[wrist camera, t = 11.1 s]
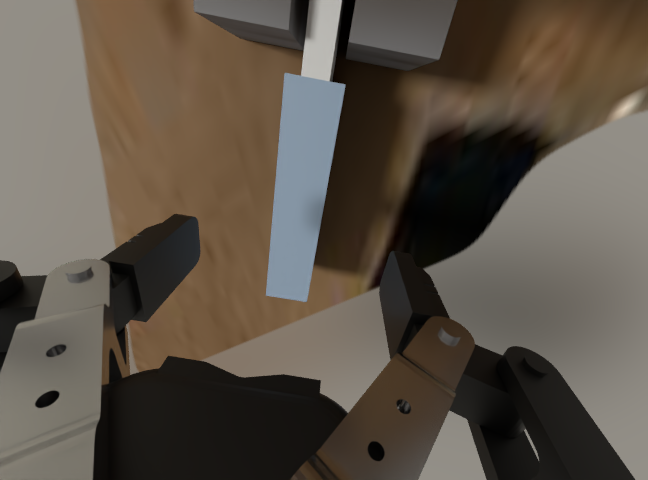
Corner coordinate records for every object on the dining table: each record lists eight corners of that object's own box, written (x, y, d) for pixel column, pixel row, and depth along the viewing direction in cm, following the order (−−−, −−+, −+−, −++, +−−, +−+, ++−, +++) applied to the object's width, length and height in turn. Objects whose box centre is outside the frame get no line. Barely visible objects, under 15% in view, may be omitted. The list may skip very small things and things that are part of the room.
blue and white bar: (308, -24, 15) (297, -73, 11) (361, -14, 15) (371, -57, 11) (279, 258, 24) (265, 295, 20) (312, 264, 24) (306, 302, 20)
